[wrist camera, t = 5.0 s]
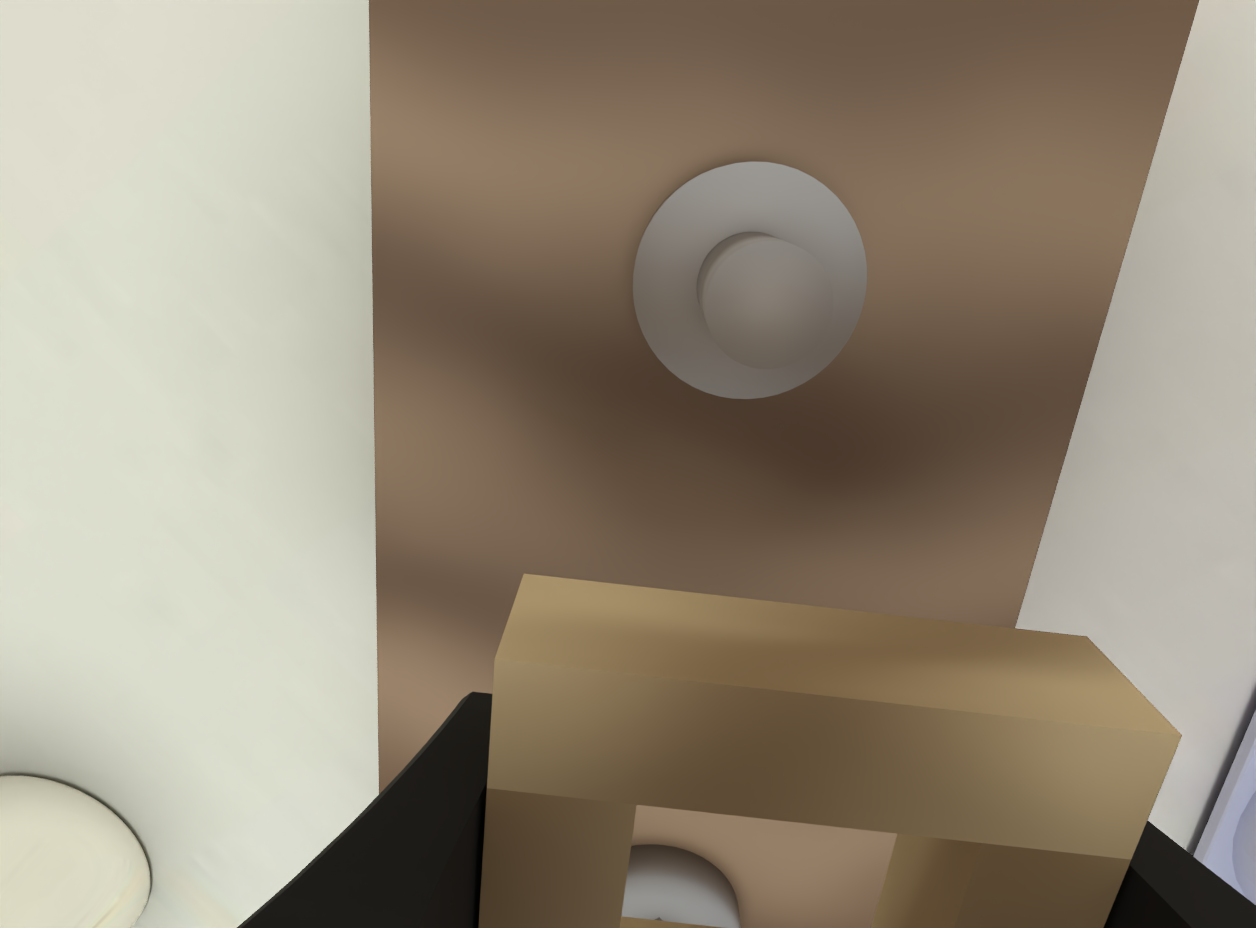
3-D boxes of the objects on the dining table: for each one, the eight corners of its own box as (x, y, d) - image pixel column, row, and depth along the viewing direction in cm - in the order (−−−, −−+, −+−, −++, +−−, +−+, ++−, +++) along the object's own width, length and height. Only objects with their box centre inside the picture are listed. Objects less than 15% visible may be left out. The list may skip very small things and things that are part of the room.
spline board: (395, -75, 15) (240, -230, 9) (1151, 2, 15) (1448, -109, 9) (398, 984, 24) (321, 1225, 18) (867, 1029, 24) (931, 1284, 18)
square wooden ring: (1086, 636, 8) (1181, 735, 6) (950, 1034, 10) (1000, 1177, 8) (523, 573, 8) (495, 658, 6) (495, 983, 10) (467, 1119, 8)
